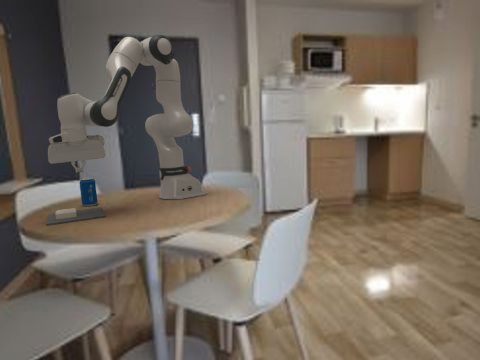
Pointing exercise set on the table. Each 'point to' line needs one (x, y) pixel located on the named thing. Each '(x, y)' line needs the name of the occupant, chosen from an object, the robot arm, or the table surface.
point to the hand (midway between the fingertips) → (80, 172)
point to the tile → (66, 213)
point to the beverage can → (88, 191)
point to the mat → (81, 215)
